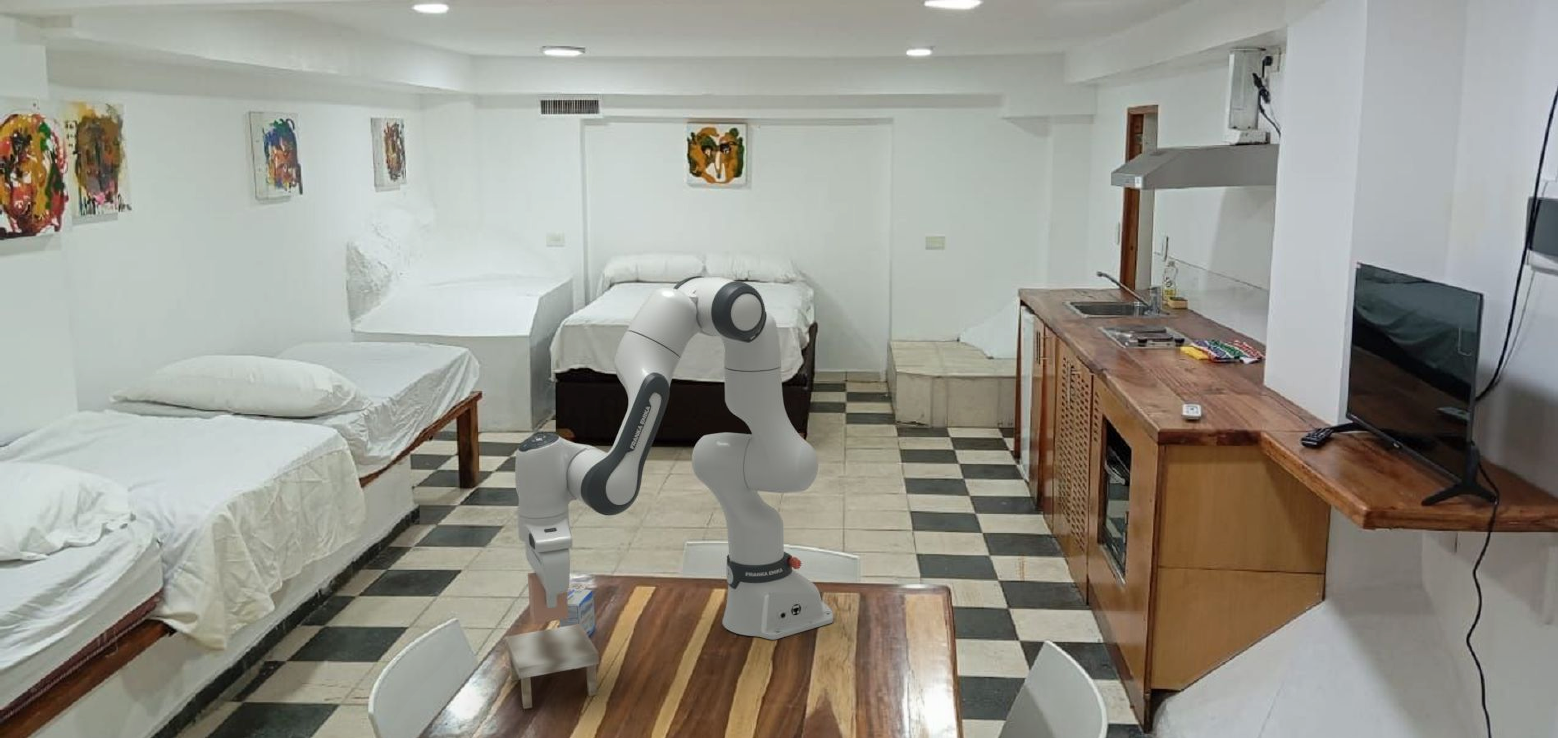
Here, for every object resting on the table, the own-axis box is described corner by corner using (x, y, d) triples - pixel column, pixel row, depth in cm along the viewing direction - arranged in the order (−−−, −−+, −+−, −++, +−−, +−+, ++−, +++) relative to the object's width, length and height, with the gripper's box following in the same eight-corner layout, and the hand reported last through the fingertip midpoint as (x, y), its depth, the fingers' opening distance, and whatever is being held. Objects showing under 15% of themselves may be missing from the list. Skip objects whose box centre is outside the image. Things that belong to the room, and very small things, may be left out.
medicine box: (581, 646, 236) (579, 604, 234) (560, 645, 236) (557, 603, 235) (595, 630, 243) (593, 589, 241) (574, 628, 244) (572, 588, 242)
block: (530, 615, 217) (527, 573, 216) (563, 610, 219) (561, 568, 218) (534, 624, 214) (532, 581, 212) (568, 618, 216) (566, 575, 214)
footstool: (582, 663, 228) (580, 623, 227) (600, 695, 215) (598, 653, 214) (507, 677, 223) (504, 636, 221) (521, 710, 210) (518, 667, 209)
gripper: (514, 512, 221) (519, 583, 224) (537, 546, 203) (541, 624, 206) (549, 507, 224) (553, 578, 226) (574, 541, 205) (578, 618, 208)
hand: (548, 600), depth 216 cm, fingers closed on block, 4 cm apart
